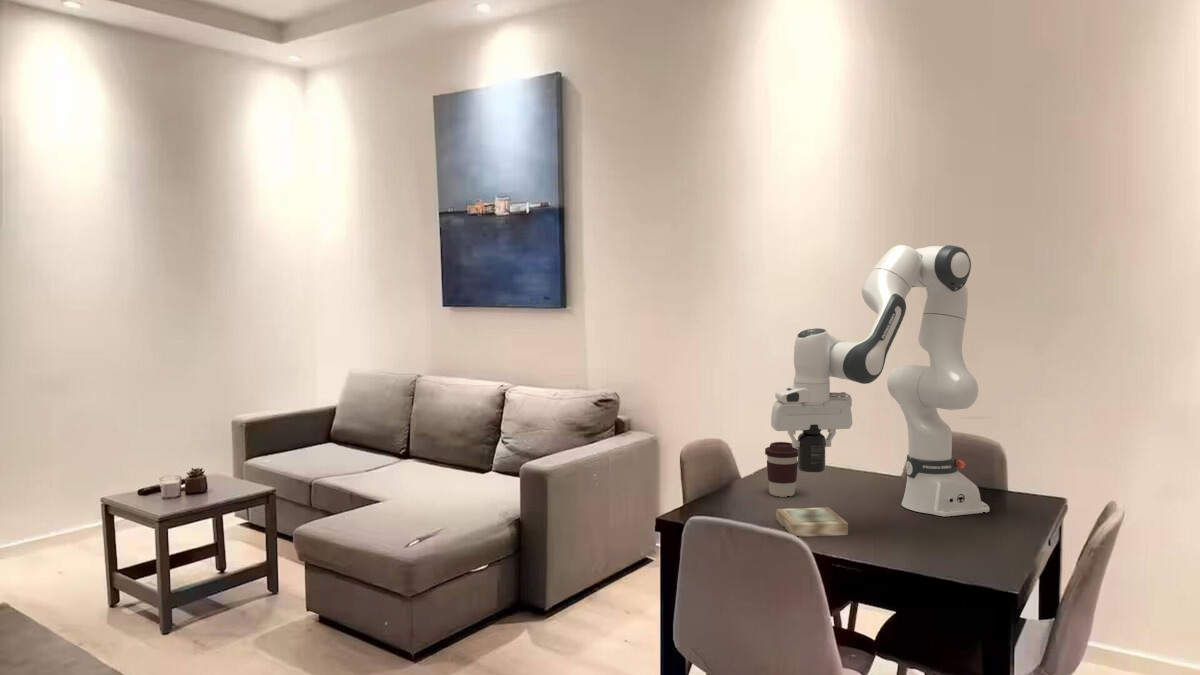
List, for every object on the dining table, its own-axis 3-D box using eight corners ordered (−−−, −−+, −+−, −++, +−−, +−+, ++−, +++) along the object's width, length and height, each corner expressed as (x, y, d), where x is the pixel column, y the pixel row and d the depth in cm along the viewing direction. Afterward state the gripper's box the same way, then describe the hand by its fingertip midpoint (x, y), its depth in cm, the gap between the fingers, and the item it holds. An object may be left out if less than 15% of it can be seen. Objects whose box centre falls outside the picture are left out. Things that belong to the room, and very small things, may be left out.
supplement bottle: (826, 468, 212) (827, 422, 211) (823, 473, 206) (823, 426, 205) (799, 466, 215) (800, 420, 214) (795, 471, 208) (795, 424, 208)
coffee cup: (758, 494, 244) (758, 444, 242) (778, 488, 250) (778, 439, 249) (786, 500, 236) (786, 449, 235) (806, 494, 243) (806, 443, 242)
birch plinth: (828, 518, 219) (828, 506, 218) (847, 534, 205) (848, 522, 204) (776, 520, 218) (776, 508, 217) (792, 536, 204) (792, 524, 203)
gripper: (847, 390, 213) (846, 442, 214) (769, 392, 211) (769, 445, 212) (856, 393, 206) (856, 448, 207) (776, 396, 205) (776, 451, 206)
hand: (811, 446), depth 210 cm, fingers closed on supplement bottle, 7 cm apart
